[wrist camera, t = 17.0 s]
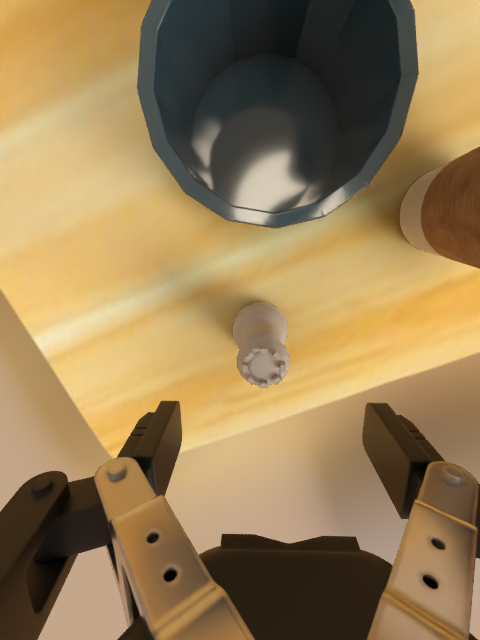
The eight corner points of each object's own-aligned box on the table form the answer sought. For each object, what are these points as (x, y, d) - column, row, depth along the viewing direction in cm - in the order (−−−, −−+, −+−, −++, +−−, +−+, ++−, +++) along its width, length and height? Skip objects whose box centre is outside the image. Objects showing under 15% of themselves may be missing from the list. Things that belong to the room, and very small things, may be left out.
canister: (151, 123, 22) (81, 47, 13) (288, 2, 20) (322, -193, 11) (245, 257, 24) (242, 274, 15) (376, 163, 22) (465, 117, 13)
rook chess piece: (228, 347, 26) (220, 395, 19) (237, 296, 25) (232, 326, 17) (280, 356, 26) (293, 408, 19) (292, 306, 25) (310, 339, 17)
